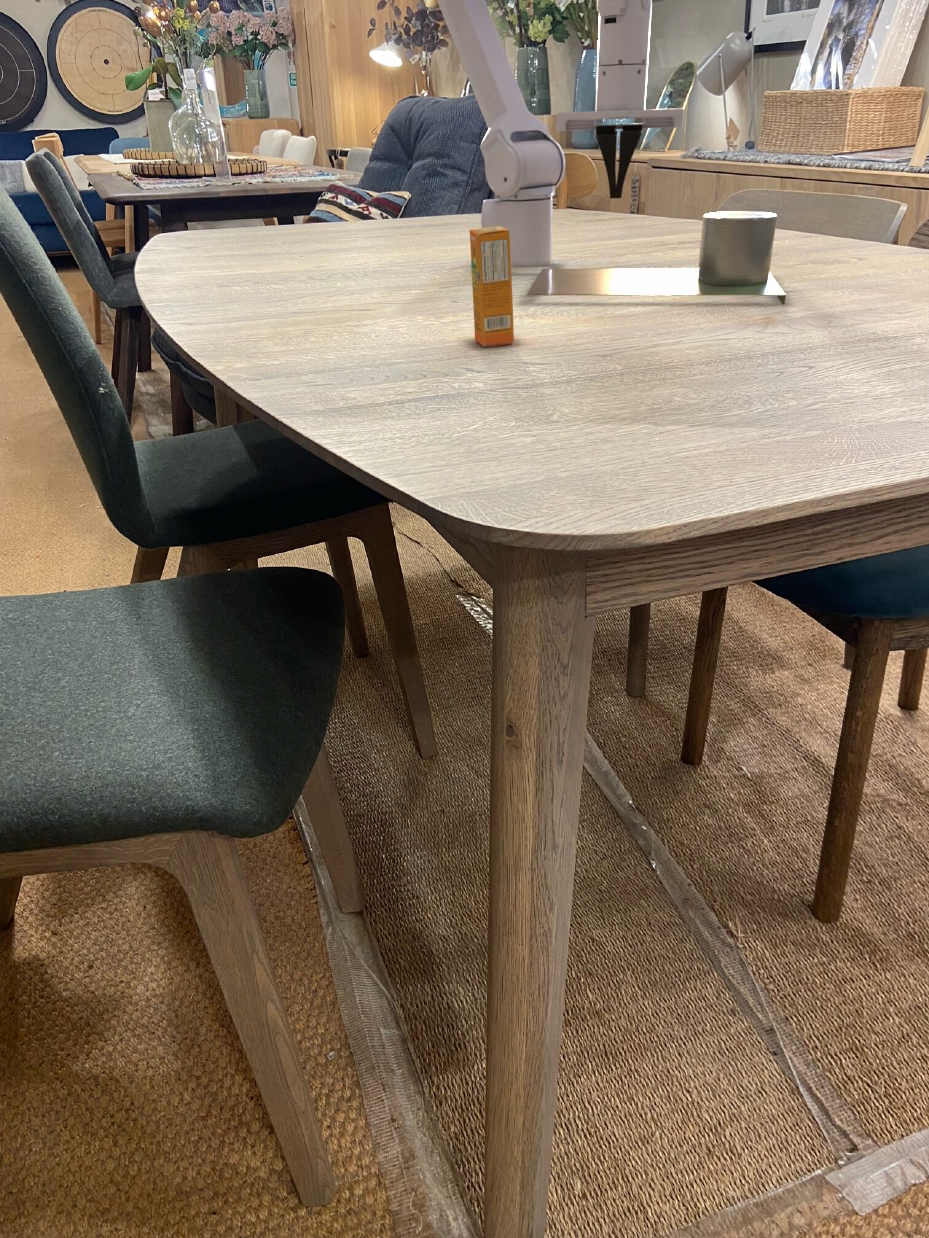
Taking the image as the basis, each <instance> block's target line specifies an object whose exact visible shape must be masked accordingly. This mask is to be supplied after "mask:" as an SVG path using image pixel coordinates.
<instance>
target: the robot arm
mask: <svg viewBox="0 0 929 1238" xmlns="http://www.w3.org/2000/svg"><path fill="white" fill-rule="evenodd" d="M436 1H437V4H438V8H439V9H440V12H441V15H442V16H443V17H442V18H443V19H444V22H445V24H446V27H447V29H448V31H449V32H448V33H449V34H450V37H451V39H452V42H453V45H454V47H455V49H456V52H457V55H458V57H459V60H460V62H461V64H462V67H463V68H464V72H465V75H466V77H467V79H468V81H469V84H470V87H471V90H472V92H473V94H474V97H475V99H476V102H477V104H478V106H479V109H480V113H481V114H482V117H483V119H484V122H485V125H486V127H487V129H488V130H487V132H486V133H485V135H484V137H483V139H482V141H481V143H480V146H479V147H480V148H479V149H480V151H481V154H482V156H483V161H484V171H485V172H484V174H485V179H486V182H487V184H488V186H489V188H490V190H491V191H492V192H493V193H494V198H489V199H488V198H487V199H484V200H483V201H482V205H481V216H480V217H481V218H480V220H481V221H480V228H487V227H497V226H501V227H502V228H504V229H509V230H510V231H509V233H510V251H511V267H537V266H544V265H549V264H551V263H552V261H553V260H552V259H553V258H552V257H553V256H552V255H553V251H552V250H553V207H554V205H553V204H554V201H553V200H554V198H553V197H554V196H556V195H557V188H558V187H559V185H560V184H561V183H562V181H563V180H564V177H565V173H566V157H565V153H564V151H563V148H562V147H561V145H560V144H559V142H557V141H556V140H555V139H554V137H552V135H551V134H550V131H549V130H548V127H547V125H546V124H545V123H544V122H543V121H542V120H541V119H539V118H538V117H537V116H535V115H534V114H533V113H532V112H531V111H530V110H529V109H528V107H527V103H526V102H525V99H524V97H523V94H522V91H521V89H520V87H519V84H518V81H517V79H516V77H515V73H514V71H513V68H512V66H511V63H510V61H509V58H508V56H507V53H506V51H505V48H504V46H503V42H502V40H501V38H500V35H499V33H498V30H497V28H496V25H495V23H494V20H493V18H492V15H491V12H490V10H489V7H488V5H487V2H486V0H436ZM652 7H653V0H596V11H597V12H598V36H597V37H598V40H597V67H596V87H595V88H596V90H595V92H596V93H595V110H590V111H588V110H587V111H566V112H563V111H562V112H561V111H560V112H557V113H556V132H569V131H571V132H572V131H595V138H596V139H595V140H596V142H597V145H598V147H599V150H600V153H601V156H602V159H603V163H604V166H605V171H606V177H607V181H608V187H609V199H622V198H623V190H624V185H625V181H626V176H627V173H628V170H629V167H630V164H631V161H632V158H633V156H634V153H635V151H636V149H637V147H638V145H639V141H640V139H641V137H642V135H643V129H665V128H666V129H667V128H668V129H669V128H670V129H671V128H673V129H676V128H677V129H678V128H679V129H680V128H684V118H685V108H683V107H681V108H654V109H653V108H651V109H648V108H647V109H646V101H647V100H646V99H647V86H648V71H649V70H648V69H649V54H650V39H651V38H650V37H651V22H652V9H653V8H652ZM624 119H625V120H627V119H628V120H629V119H635V122H636V123H617V124H616V123H615V124H614V123H613V124H604V121H605V120H624ZM619 130H620V131H619ZM618 140H619V141H618ZM618 142H619V153H618ZM617 156H618V157H617ZM617 158H618V170H617Z"/></svg>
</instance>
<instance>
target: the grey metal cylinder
mask: <svg viewBox="0 0 929 1238" xmlns="http://www.w3.org/2000/svg"><path fill="white" fill-rule="evenodd" d="M777 219H778V215H777V214H776V213H773V212H767V211H754V210H753V211H751V210H750V211H749V210H748V211H747V210H744V211H743V210H740V211H739V210H737V211H736V210H734V211H730V210H729V211H717V212H709V213H705V214H704V215H703V216H702V227H701V238H700V247H699V258H698V267H697V268H698V277H697V280H698V281H699V282H701V283H704V284H708V285H716V286H754V285H760V284H764V283H767V282H768V279H769V272H770V270H771V263H772V254H773V248H774V241H775V233H776V225H777Z"/></svg>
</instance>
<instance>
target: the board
mask: <svg viewBox="0 0 929 1238" xmlns="http://www.w3.org/2000/svg"><path fill="white" fill-rule="evenodd" d="M697 277H698V267H697V268H696V267H695V268H694V267H692V268H691V267H690V268H689V267H688V268H687V267H681V268H680V267H679V268H677V267H676V268H667V267H665V268H663V267H662V268H658V267H657V268H653V267H652V268H651V267H650V268H647V267H646V268H645V267H643V268H542V269H541V271H540V273H539V274H538V275H537V277H536V279H535V281H534V282H533V283H532V285H531V287H530V289H528V291H527V293H526V296H776V297H777V299H778V301H779V302H780V303H781V305H785V303H786V296H787V295H786V293H785V292H784V290H783V289H782V288H781V286H780V285H779V283H778V282H777V281H776V279H775V278H774V277H773V275H772V273H771V272H770V271H769V279H768V282H767V283H764V284H760V285H754V286H716V285H708V284H704V283H701V282H699V281H698V280H697Z"/></svg>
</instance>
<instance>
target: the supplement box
mask: <svg viewBox="0 0 929 1238" xmlns="http://www.w3.org/2000/svg"><path fill="white" fill-rule="evenodd" d="M468 231H469V241H470V243H469V244H470V266H471V286H472V305H473V327H474V341H475V342H476V343H477V344H479V345H481V346H482V347H484V348H487V347H488V348H489V347H498V346H505V345H510V344H511V345H513V344H514V343H515V342H514V341H515V330H514V303H513V301H514V300H513V299H514V298H513V280H512V279H513V278H512V277H513V275H512V274H513V273H512V266H511V251H510V233H509V231H510V230H509V229H504V228H502V227H501V226H497V227H487V228H481V227H479V228H474V229H469V230H468Z"/></svg>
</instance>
